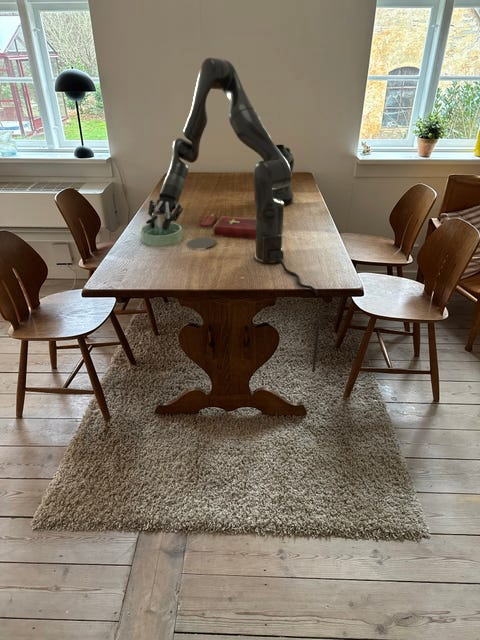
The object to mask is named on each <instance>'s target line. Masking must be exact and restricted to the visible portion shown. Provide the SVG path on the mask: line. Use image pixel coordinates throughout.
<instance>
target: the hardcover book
mask: <svg viewBox="0 0 480 640" xmlns="http://www.w3.org/2000/svg"><path fill="white" fill-rule="evenodd" d="M212 228H213V230H212V232H213V235H215V236H222V237H226V238H237V239H246V240H248V239H249V240H256V218H249V217H234V216H224V215H222V216H221V217H220V218H219V219H218V220H217V221H216V222H215V223H214V224H213V227H212Z"/></svg>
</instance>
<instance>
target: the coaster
mask: <svg viewBox="0 0 480 640" xmlns="http://www.w3.org/2000/svg"><path fill="white" fill-rule="evenodd" d="M187 245H188V246H189V247H191V248H194V249H205V250H209V249H212V248H214V247H215V245H216V242H215V240H213V239H211V238H206V237H198V238H193V239H190V240H189V241H188V242H187Z"/></svg>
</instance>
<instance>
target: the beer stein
mask: <svg viewBox="0 0 480 640" xmlns="http://www.w3.org/2000/svg"><path fill="white" fill-rule="evenodd" d="M275 145H276V147H277V148H278V149H279V151H280V152H281V154H282V155H283V156H284V158H285V159H286V161H287V162H288V164H289V166H290V169H291V174H292V173H293V171H294V166H295V159H294V157H293V154H292V152H291V149H290V148H289V147H286V146H285V145H284V144H275ZM292 186H293V185H292V181H291V182H290V184H289V185H288V186H286V187H283V188H279V189H274V190H272V193H273V198H277V199H280V200H282V201H283V202H284V207H285V206H289V205H291V204H292V203H293V201H294V197H295V195H294V191H293V187H292Z"/></svg>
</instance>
